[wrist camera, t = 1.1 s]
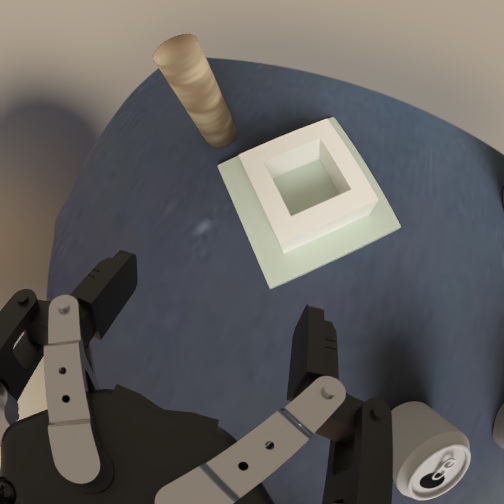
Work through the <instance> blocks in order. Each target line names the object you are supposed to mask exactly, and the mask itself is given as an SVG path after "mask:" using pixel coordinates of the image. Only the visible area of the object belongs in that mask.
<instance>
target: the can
mask: <svg viewBox="0 0 504 504" xmlns="http://www.w3.org/2000/svg"><path fill="white" fill-rule="evenodd" d="M391 413H392V431H393V480H394V482H395V484H396V486H397V488H398V489H399V491H400V492H401V493H402V494H403V495H406V496H409V497H412V498H414V499H417V500H429V499H432V498H435V497H438V496H440V495H442V494H444V493H445V492H447V491H448V490H450V489H451V488H452V487H453V486H455V485H456V484H457V483H458V481H459V480H460V479H461V478H462V477H463V475H464V474H465V472H466V470H467V469H468V466H469V463H470V460H471V452H470V450H469V441H468V439H467V437H466V436H465V435H464V434H463V433H462V432H460V431H459V430H458V429H457V428H455V427H454V426H453V425H452V424H450V423H449V422H448V421H447V420H445V419H444V418H443V417H442V416H440V415H439V414H438V413H437V412H435V411H434V410H433V409H432V408H430V407H429V406H428V405H426V404H424V403H423V402H417V401H413V402H406V403H404V404H402V405H399V406H397V407H395V408H394V409H393V410H392V411H391Z"/></svg>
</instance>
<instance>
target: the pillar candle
mask: <svg viewBox="0 0 504 504" xmlns="http://www.w3.org/2000/svg"><path fill="white" fill-rule="evenodd" d="M492 437H493V440H494V442H495V443H496V444H497V445H498V446H500V447H501V448H503V449H504V403H503V404H502V406H501V407H500V409H499V411H498V413H497V415H496V418H495V422H494V427H493V434H492Z"/></svg>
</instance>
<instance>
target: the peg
mask: <svg viewBox="0 0 504 504" xmlns="http://www.w3.org/2000/svg"><path fill="white" fill-rule="evenodd" d="M153 59H154V61H155V62H156V64H157V66H158V67H159V69H160V70H161V72H162V73H163V75H164V76H165V78H166V80H167V81H168V83H169V84H170V86H171V87H172V89H173V90H174V92H175V93H176V95H177V97H178V98H179V100H180V101H181V103H182V104H183V106H184V108H185V109H186V111H187V112H188V114H189V115H190V117H191V119H192V120H193V122H194V123H195V125H196V127H197V128H198V130H199V131H200V133H201V134H202V136H203V138H204V139H205V141H206V142H207V144H208V145H209V146H211V147H213V148H223V147H226V146H228V145H229V144H231V143H232V142H233V141H234V140H235V138H236V136H237V129H236V126H235V124H234V121H233V119H232V117H231V114H230V112H229V110H228V107H227V105H226V103H225V100H224V98H223V96H222V93H221V91H220V89H219V86H218V84H217V82H216V79H215V77H214V75H213V73H212V70H211V68H210V66H209V64H208V61H207V59H206V57H205V55H204V53H203V50H202V48H201V46H200V44H199V42H198V40H197V37H196V36H194V35H191V34H182V35H179V36H175V37H173V38H170V39H168V40H167V41H165V42H164V43H162V44H161V45H160V46H159V47H158V48H157V49H156V50H155V52H154V54H153Z"/></svg>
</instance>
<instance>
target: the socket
mask: <svg viewBox="0 0 504 504" xmlns="http://www.w3.org/2000/svg"><path fill="white" fill-rule="evenodd" d="M217 166H218V168H219V171H220V173H221V175H222V178H223V180H224V182H225V185H226V187H227V189H228V192H229V194H230V196H231V199H232V201H233V203H234V206H235V208H236V210H237V213H238V215H239V218H240V220H241V222H242V225H243V227H244V229H245V232H246V234H247V236H248V239H249V241H250V243H251V246H252V248H253V250H254V253H255V255H256V257H257V260H258V262H259V264H260V267H261V269H262V271H263V274H264V276H265V278H266V281H267V283H268V285H269V288H270V289H273V288H275V287H277V286H279V285H282V284H284V283H286V282H288V281H291V280H293V279H295V278H297V277H300V276H302V275H304V274H306V273H308V272H311V271H313V270H315V269H317V268H319V267H321V266H324V265H326V264H328V263H330V262H332V261H334V260H336V259H339V258H341V257H343V256H345V255H347V254H349V253H351V252H353V251H355V250H357V249H360V248H362V247H364V246H366V245H368V244H370V243H372V242H374V241H376V240H378V239H380V238H382V237H384V236H386V235H388V234H390V233H392V232H394V231H396V230H398V229H399V228H401V226H400V224H399V222H398V220H397V218H396V216H395V214H394V212H393V210H392V208H391V207H390V205H389V203H388V201H387V199H386V198H385V196H384V194H383V192H382V190H381V189H380V187H379V185H378V184H377V182H376V180H375V179H374V177H373V175H372V174H371V172H370V170H369V169H368V167H367V165H366V164H365V162H364V161H363V159H362V157H361V156H360V154H359V153H358V151H357V150H356V148H355V147H354V145H353V144H352V142H351V141H350V139H349V138H348V136H347V135H346V133H345V132H344V131H343V129H342V128H341V126H340V125H339V124H338V122H337V121H336V119H335V118H334V117H332V118H329V119H324V120H322V121H319V122H316V123H314V124H311V125H308V126H306V127H303V128H300V129H298V130H295V131H293V132H290V133H288V134H285V135H283V136H281V137H278V138H276V139H273V140H271V141H269V142H266V143H264V144H262V145H259V146H257V147H255V148H252V149H250V150H248V151H246V152H244V153H241V154H239V155H238V156H236V157H234V158H232V159H230V160H228V161H226V162H224V163H222V164H219V165H217Z"/></svg>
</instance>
